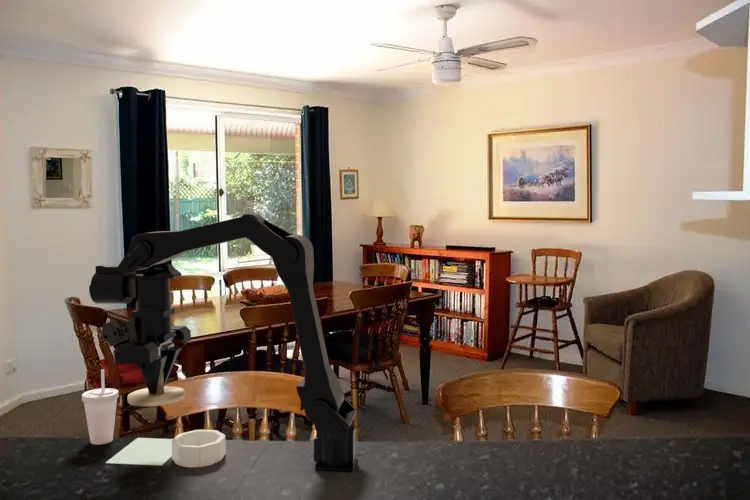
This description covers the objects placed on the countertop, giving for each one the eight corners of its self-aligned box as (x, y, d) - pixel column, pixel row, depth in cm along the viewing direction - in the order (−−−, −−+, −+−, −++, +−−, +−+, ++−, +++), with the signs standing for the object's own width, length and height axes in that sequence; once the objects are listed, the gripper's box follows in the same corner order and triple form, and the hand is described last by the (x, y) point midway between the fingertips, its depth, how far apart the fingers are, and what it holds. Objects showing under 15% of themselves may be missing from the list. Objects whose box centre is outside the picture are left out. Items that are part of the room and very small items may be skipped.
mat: (188, 442, 122) (188, 439, 122) (161, 468, 110) (161, 465, 110) (137, 440, 123) (137, 437, 123) (105, 466, 111) (105, 462, 111)
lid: (193, 390, 120) (192, 365, 120) (171, 406, 110) (170, 379, 110) (143, 390, 121) (142, 364, 121) (117, 405, 111) (116, 378, 111)
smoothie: (111, 450, 119) (109, 374, 118) (76, 449, 119) (74, 374, 118) (125, 437, 125) (123, 365, 124) (92, 437, 125) (90, 365, 124)
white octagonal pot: (230, 452, 118) (230, 430, 117) (214, 471, 109) (214, 447, 109) (185, 450, 118) (184, 429, 118) (165, 469, 110) (165, 446, 110)
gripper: (134, 296, 125) (137, 377, 126) (80, 312, 106) (84, 407, 107) (190, 296, 123) (193, 377, 124) (146, 312, 105) (150, 408, 106)
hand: (156, 391), depth 116 cm, fingers closed on lid, 3 cm apart
